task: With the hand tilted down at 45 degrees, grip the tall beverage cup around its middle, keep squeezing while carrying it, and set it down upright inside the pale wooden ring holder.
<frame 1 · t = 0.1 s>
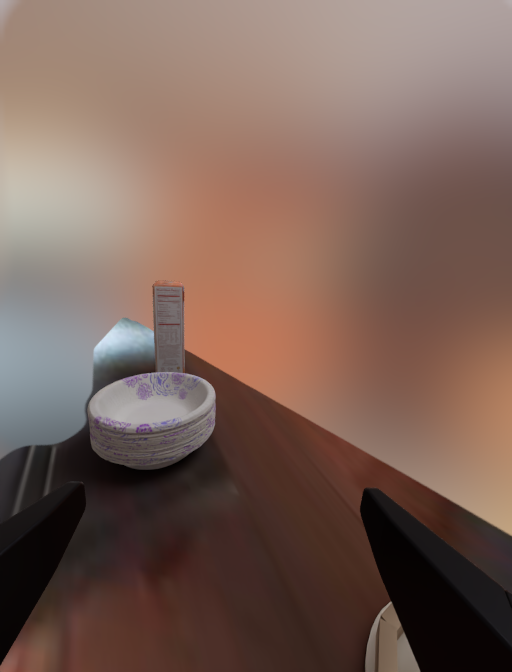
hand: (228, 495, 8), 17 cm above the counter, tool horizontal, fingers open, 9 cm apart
white cardboard box: (169, 376, 59), on the counter
paper bowls: (158, 446, 35), on the counter
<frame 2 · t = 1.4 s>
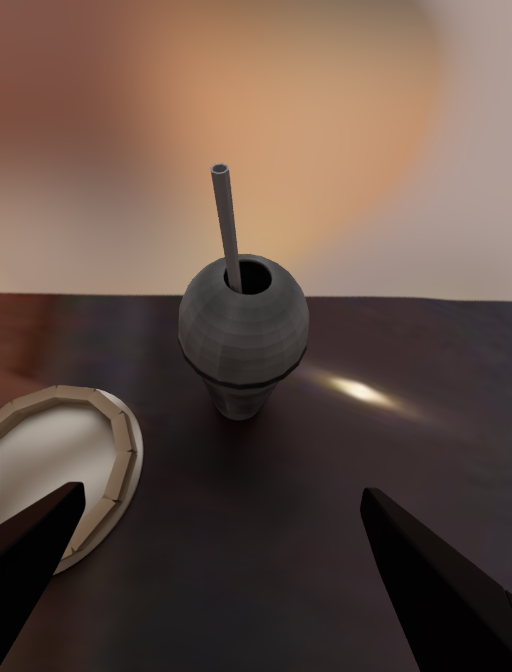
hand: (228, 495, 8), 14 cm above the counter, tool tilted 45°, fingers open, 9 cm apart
ring holder: (55, 470, 20), on the counter
beverage cup: (239, 396, 24), on the counter
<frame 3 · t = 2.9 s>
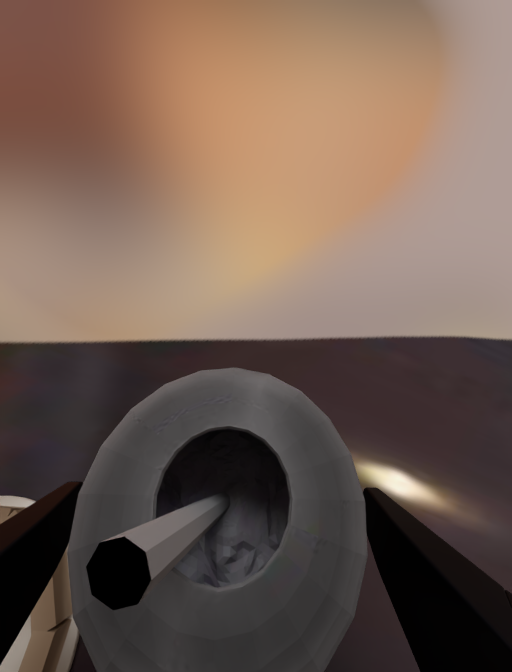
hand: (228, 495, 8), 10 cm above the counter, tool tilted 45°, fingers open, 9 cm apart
beverage cup: (229, 498, 17), on the counter
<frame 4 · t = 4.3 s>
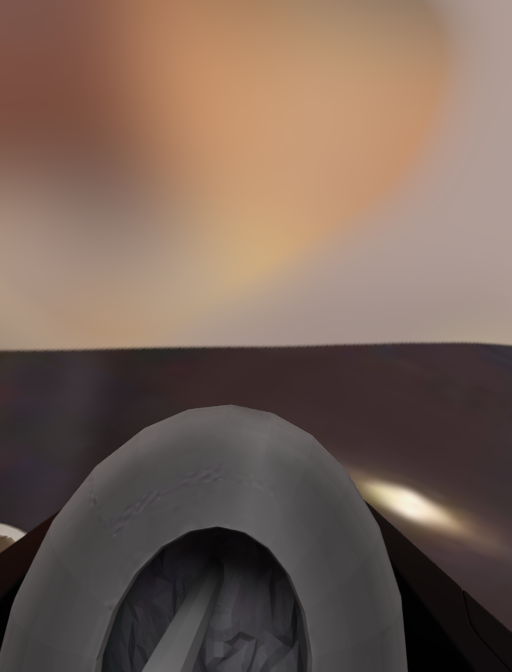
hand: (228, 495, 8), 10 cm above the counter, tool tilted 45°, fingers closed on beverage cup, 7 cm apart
beverage cup: (227, 522, 16), on the counter, touching gripper
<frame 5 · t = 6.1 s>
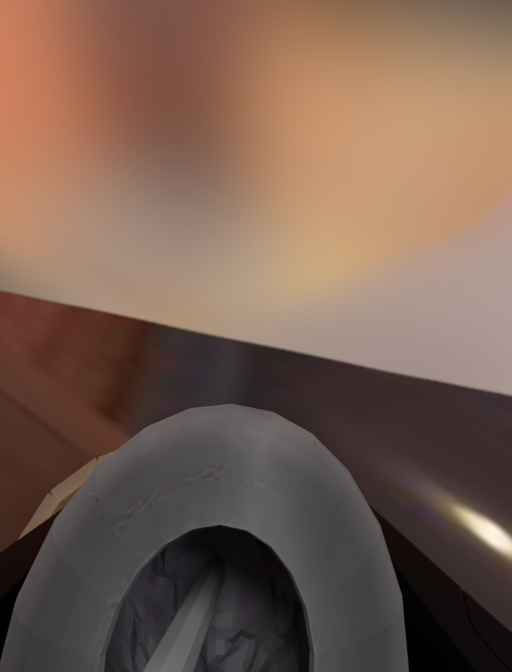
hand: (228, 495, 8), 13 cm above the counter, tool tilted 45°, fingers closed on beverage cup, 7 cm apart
ring holder: (127, 550, 17), on the counter
beverage cup: (228, 521, 16), point 3 cm above the counter, touching gripper
when the fingers open (11 cm above the counter, at t = 8.3 s): beverage cup stays where it is, resting on ring holder.
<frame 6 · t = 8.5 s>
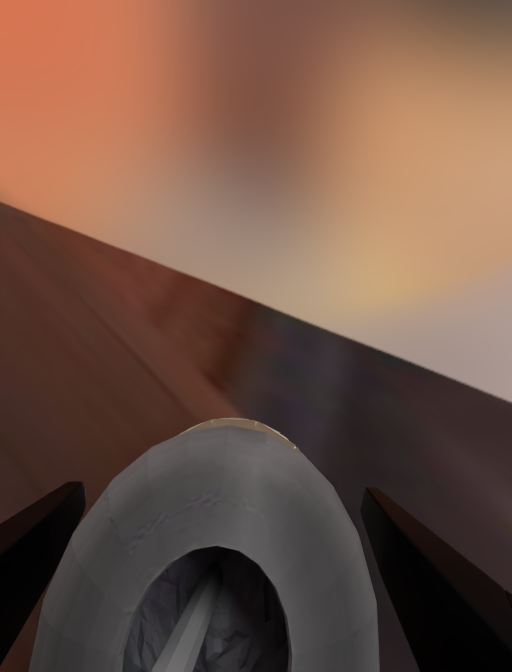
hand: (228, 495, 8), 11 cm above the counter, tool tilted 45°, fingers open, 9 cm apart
ring holder: (228, 520, 17), on the counter
beverage cup: (227, 524, 17), resting on ring holder
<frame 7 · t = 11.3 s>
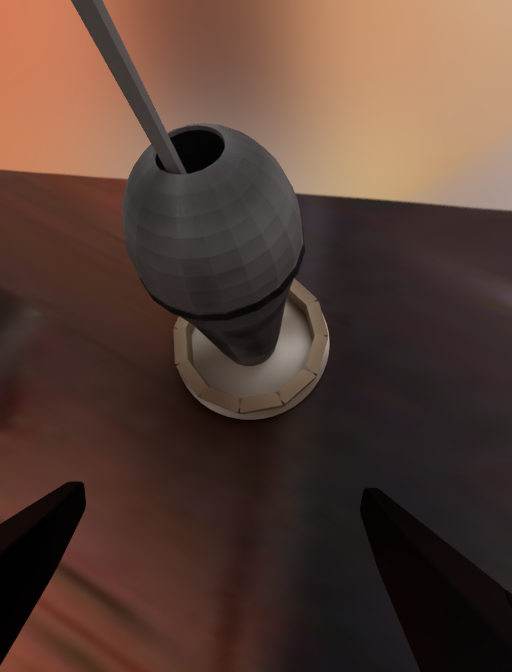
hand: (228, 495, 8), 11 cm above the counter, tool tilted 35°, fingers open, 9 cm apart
ring holder: (251, 340, 22), on the counter
beverage cup: (250, 341, 22), resting on ring holder
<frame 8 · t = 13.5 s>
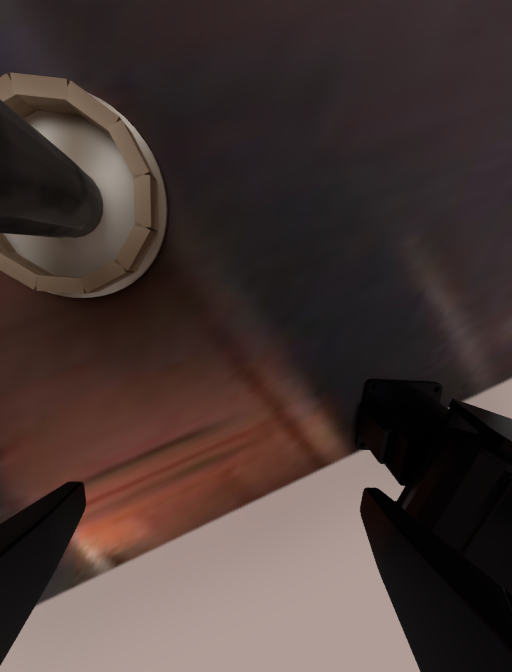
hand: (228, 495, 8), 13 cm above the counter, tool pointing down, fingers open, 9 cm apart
ring holder: (71, 202, 18), on the counter
beverage cup: (70, 203, 17), resting on ring holder
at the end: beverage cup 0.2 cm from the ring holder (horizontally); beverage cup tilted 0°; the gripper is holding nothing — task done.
